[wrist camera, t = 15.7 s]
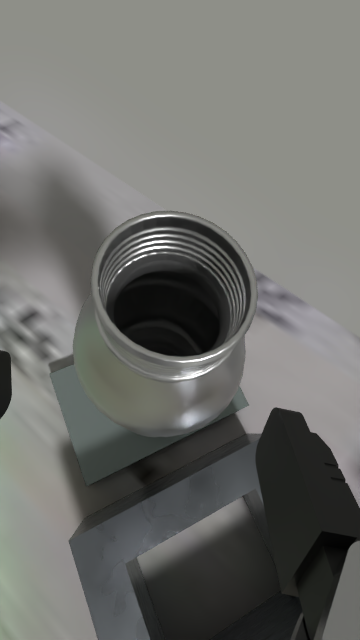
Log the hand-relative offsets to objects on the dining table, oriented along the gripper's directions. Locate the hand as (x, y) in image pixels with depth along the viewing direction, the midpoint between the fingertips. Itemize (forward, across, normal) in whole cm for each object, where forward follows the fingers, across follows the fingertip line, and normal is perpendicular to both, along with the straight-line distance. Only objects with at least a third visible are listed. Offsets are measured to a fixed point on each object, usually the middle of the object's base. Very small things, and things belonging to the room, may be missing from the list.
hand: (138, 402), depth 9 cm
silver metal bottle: (+13, 0, +10) cm, 16 cm away
